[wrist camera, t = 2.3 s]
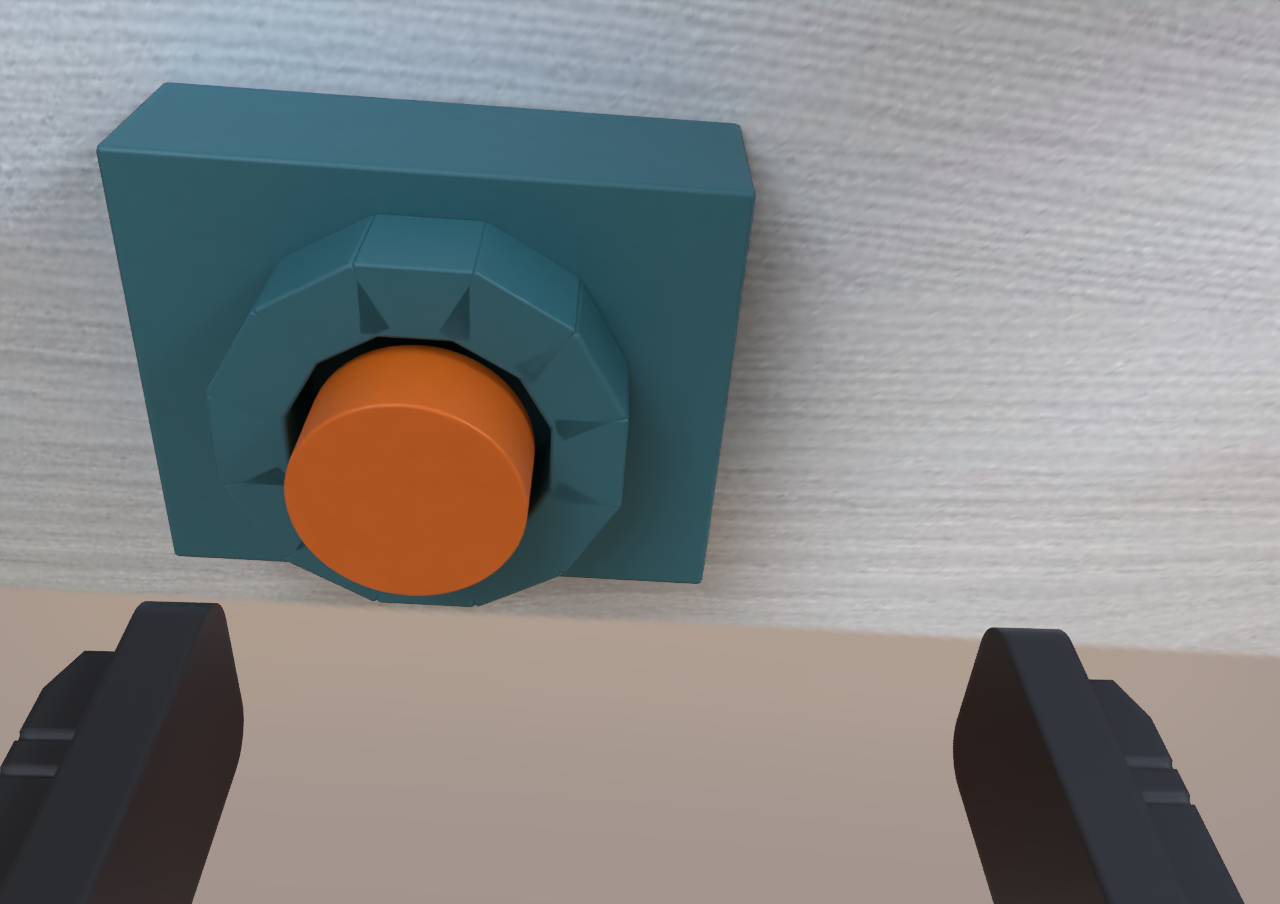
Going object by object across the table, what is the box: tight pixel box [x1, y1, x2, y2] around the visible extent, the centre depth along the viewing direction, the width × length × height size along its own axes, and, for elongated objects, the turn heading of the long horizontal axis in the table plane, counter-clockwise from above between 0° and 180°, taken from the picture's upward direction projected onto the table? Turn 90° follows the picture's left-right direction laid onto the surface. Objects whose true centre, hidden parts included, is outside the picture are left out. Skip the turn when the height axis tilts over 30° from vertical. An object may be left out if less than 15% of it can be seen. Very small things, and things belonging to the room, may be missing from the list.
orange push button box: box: [96, 83, 756, 607], centre depth 21 cm, size 10×8×5 cm
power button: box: [284, 345, 535, 596], centre depth 18 cm, size 4×4×2 cm
